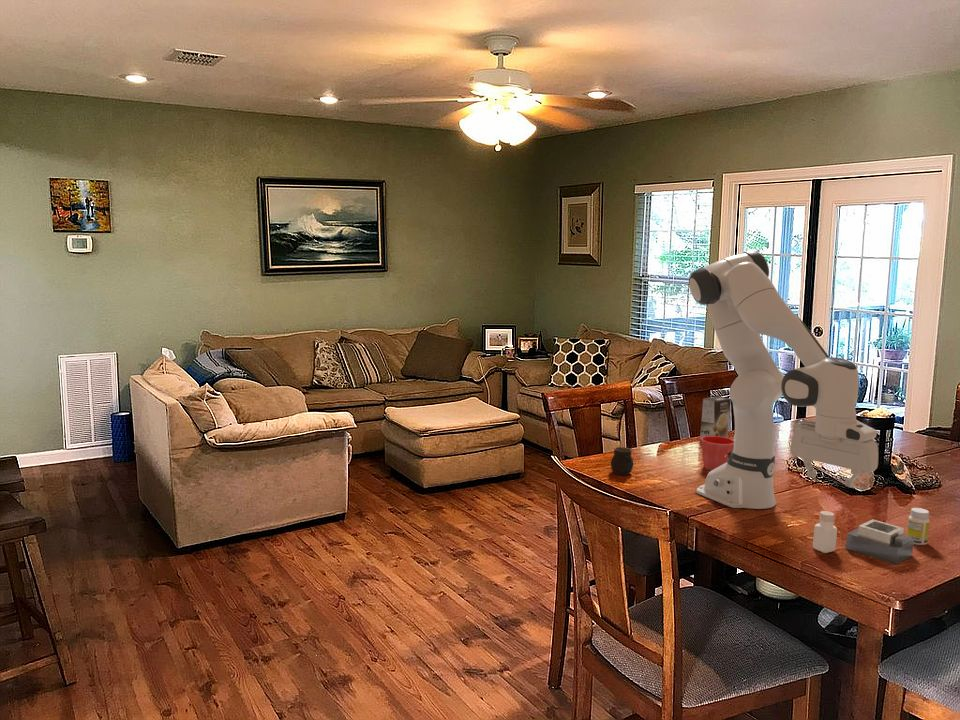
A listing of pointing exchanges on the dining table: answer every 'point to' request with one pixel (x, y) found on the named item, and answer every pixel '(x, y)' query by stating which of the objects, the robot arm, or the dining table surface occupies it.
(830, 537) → the white bottle
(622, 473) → the mate gourd
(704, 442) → the flower pot
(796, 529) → the dining table surface
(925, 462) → the dining table surface
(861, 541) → the block
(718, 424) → the coffee box
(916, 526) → the supplement bottle
